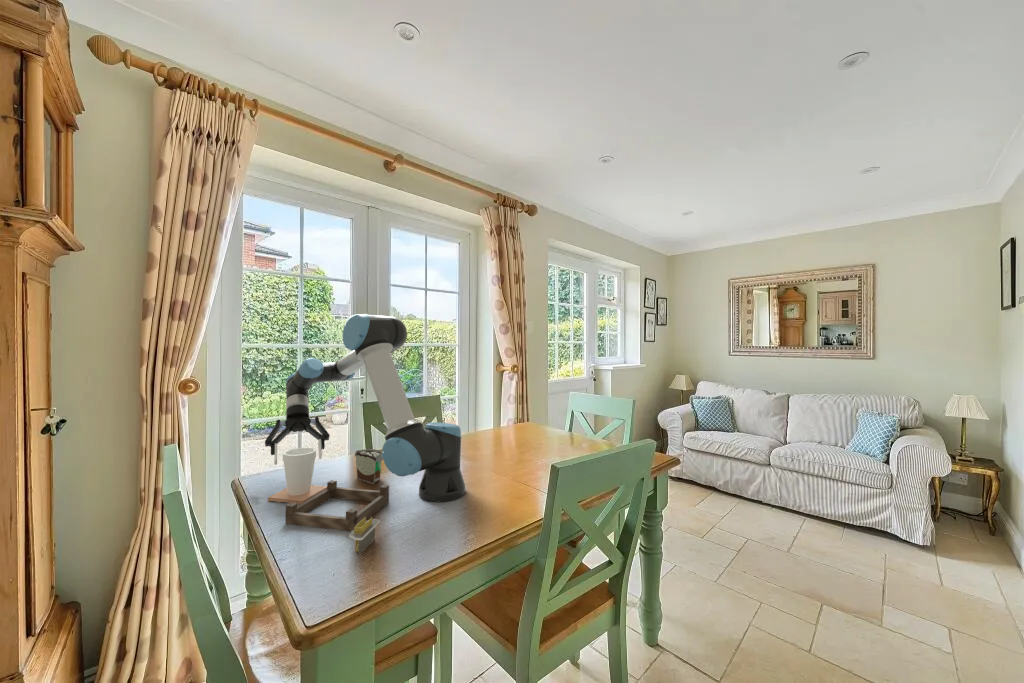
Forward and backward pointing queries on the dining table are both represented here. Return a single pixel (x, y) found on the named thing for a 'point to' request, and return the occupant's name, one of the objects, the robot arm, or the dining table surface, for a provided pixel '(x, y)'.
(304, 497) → the terracotta tile
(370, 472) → the cake slice
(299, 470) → the foam cup
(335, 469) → the dining table surface
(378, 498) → the frame
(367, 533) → the grey yellow plug connector
